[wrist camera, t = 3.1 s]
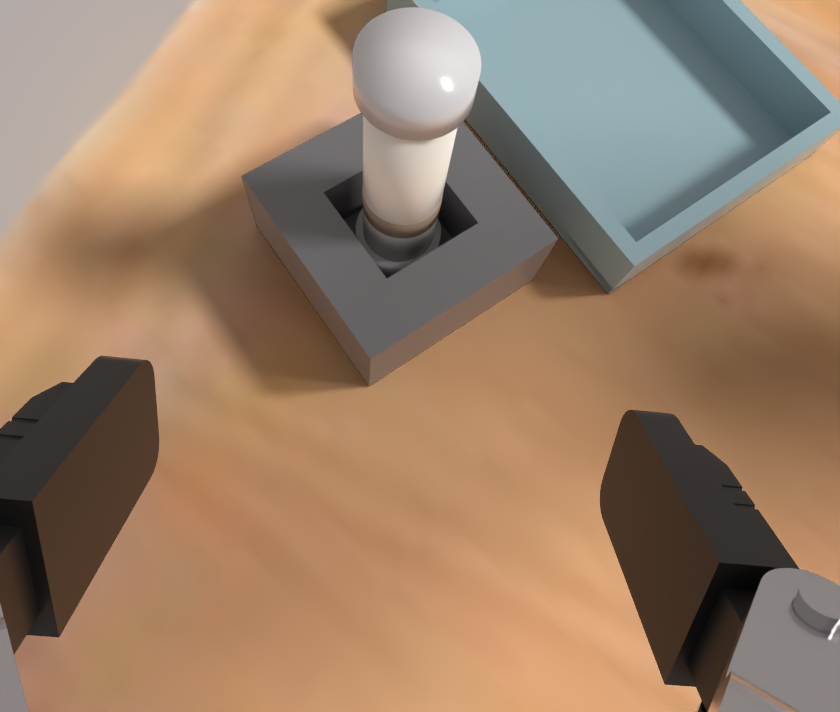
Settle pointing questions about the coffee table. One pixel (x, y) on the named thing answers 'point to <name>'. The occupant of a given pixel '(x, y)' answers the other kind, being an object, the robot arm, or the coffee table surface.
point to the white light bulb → (409, 126)
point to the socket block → (418, 282)
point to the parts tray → (637, 115)
